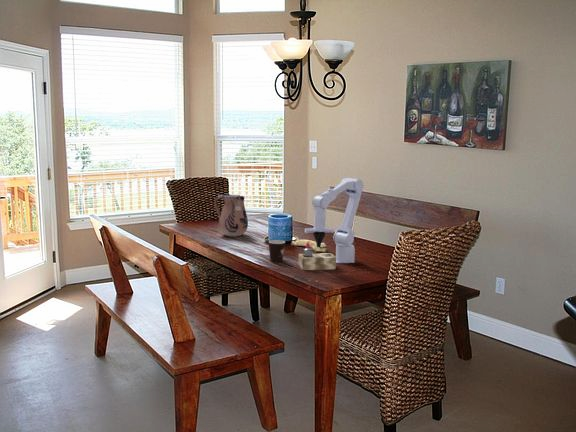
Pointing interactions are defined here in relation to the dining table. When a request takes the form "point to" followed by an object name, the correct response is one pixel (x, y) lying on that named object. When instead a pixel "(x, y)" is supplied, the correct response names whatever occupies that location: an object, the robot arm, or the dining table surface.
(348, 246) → the robot arm
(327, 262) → the block
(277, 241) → the coffee mug
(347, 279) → the dining table surface
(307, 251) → the peg
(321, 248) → the cat figure
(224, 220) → the ceramic pitcher
